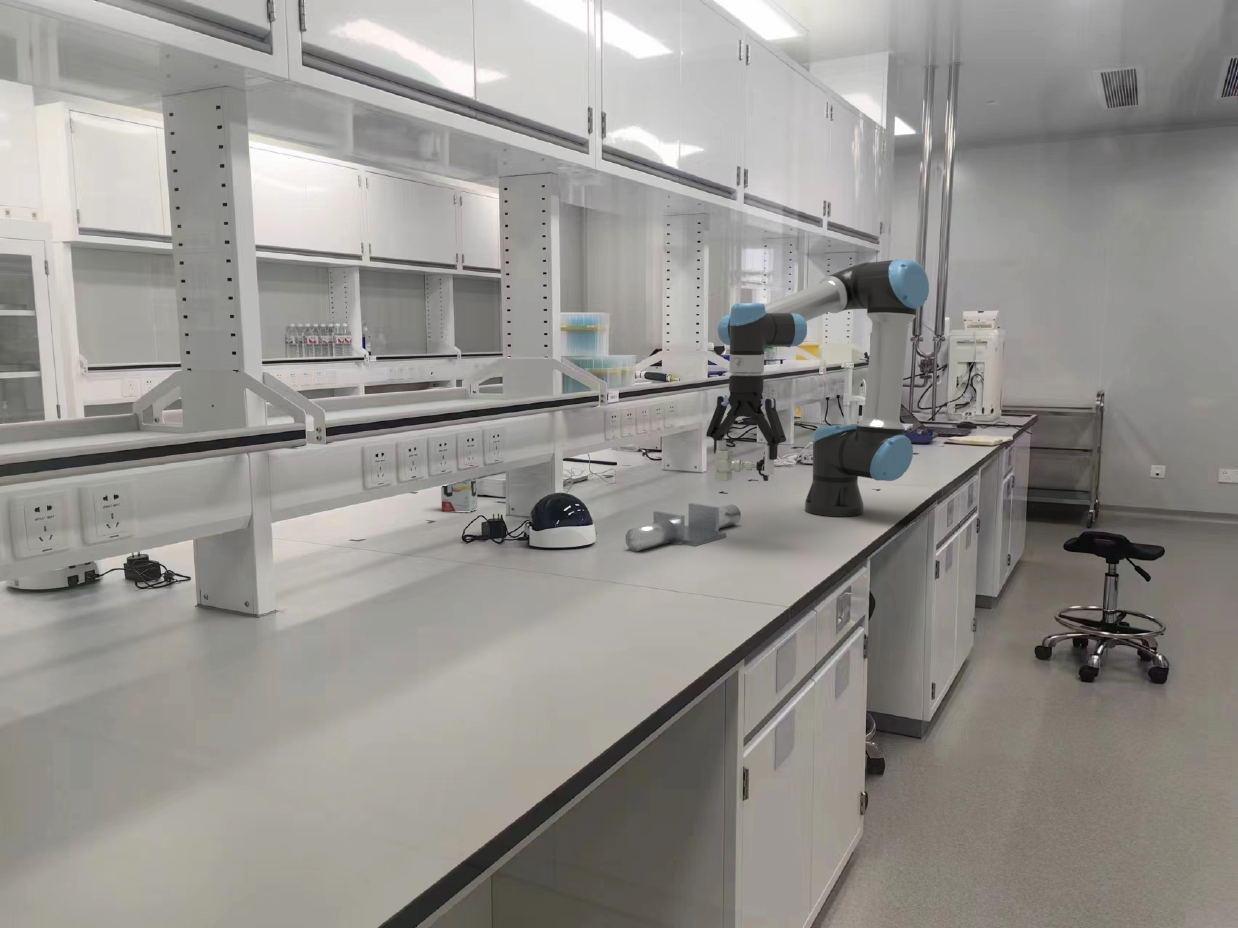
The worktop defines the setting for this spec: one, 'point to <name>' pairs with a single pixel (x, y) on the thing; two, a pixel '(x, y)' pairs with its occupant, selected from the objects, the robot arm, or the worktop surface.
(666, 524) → the pipe run
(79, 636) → the worktop surface
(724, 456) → the valve
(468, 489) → the ink box
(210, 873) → the worktop surface
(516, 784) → the worktop surface
